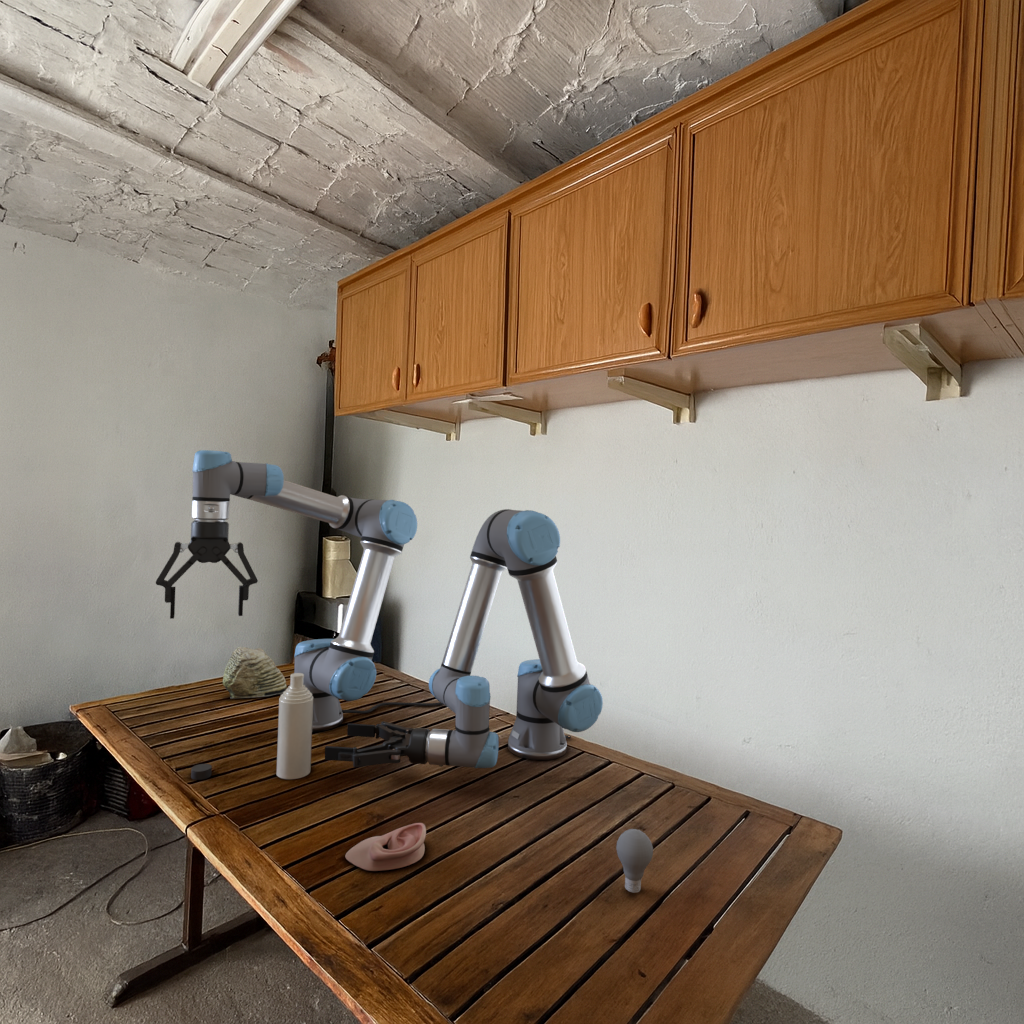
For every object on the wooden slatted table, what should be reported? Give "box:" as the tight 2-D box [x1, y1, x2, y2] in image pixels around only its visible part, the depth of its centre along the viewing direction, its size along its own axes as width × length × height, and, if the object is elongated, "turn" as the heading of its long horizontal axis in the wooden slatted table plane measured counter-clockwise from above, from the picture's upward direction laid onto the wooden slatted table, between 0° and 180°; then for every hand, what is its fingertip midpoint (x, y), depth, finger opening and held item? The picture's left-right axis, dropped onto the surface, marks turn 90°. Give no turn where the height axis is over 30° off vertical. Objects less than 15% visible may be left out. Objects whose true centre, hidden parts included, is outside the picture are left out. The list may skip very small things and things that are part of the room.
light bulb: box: [615, 828, 654, 894], centre depth 106 cm, size 6×6×10 cm
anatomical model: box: [344, 822, 427, 872], centre depth 113 cm, size 13×4×12 cm
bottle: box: [275, 672, 313, 780], centre depth 145 cm, size 7×7×22 cm
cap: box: [190, 763, 213, 781], centre depth 141 cm, size 4×4×2 cm
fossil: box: [222, 646, 288, 699], centre depth 198 cm, size 9×18×15 cm, turn 132°
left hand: (207, 616), depth 140 cm, fingers open, 13 cm apart
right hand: (337, 740), depth 144 cm, fingers open, 13 cm apart
